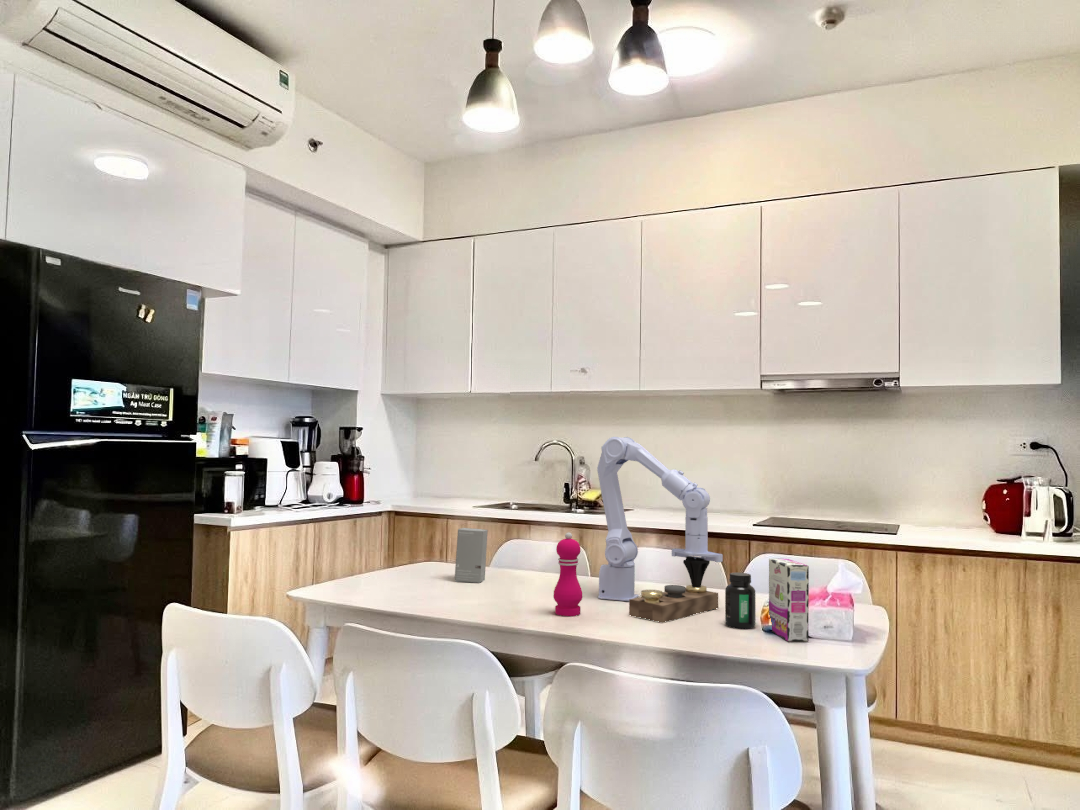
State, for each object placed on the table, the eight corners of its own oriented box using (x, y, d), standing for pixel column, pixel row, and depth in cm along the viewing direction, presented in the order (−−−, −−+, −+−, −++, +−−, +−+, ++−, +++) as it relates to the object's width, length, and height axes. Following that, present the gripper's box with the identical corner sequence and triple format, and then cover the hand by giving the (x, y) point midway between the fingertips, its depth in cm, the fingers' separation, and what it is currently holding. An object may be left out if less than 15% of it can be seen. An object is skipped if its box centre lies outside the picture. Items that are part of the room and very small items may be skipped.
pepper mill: (585, 611, 188) (586, 531, 189) (577, 618, 182) (578, 534, 183) (558, 609, 191) (559, 530, 192) (549, 615, 184) (550, 533, 185)
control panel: (662, 623, 177) (662, 605, 178) (629, 615, 185) (629, 599, 185) (718, 608, 194) (718, 592, 194) (685, 602, 201) (685, 587, 201)
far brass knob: (699, 608, 192) (699, 589, 193) (682, 605, 196) (682, 586, 196) (710, 605, 196) (710, 586, 196) (693, 602, 200) (693, 584, 200)
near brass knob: (653, 615, 179) (654, 594, 179) (636, 611, 183) (636, 591, 183) (666, 611, 183) (667, 591, 183) (649, 608, 186) (649, 588, 187)
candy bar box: (810, 642, 162) (809, 565, 162) (787, 642, 161) (787, 565, 162) (788, 629, 173) (788, 557, 174) (767, 629, 172) (767, 557, 173)
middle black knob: (677, 609, 186) (677, 589, 186) (660, 605, 189) (660, 586, 190) (689, 606, 189) (689, 587, 190) (672, 603, 193) (672, 584, 193)
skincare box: (454, 582, 227) (455, 529, 228) (460, 578, 234) (461, 526, 235) (481, 583, 225) (482, 530, 226) (487, 579, 232) (488, 527, 233)
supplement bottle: (750, 631, 171) (750, 577, 172) (721, 626, 175) (721, 574, 175) (759, 625, 177) (759, 573, 177) (730, 621, 180) (730, 570, 181)
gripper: (664, 533, 199) (664, 585, 199) (711, 538, 189) (712, 593, 188) (680, 531, 204) (680, 581, 204) (727, 536, 194) (727, 589, 193)
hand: (696, 587), depth 196 cm, fingers closed, pressing on far brass knob
